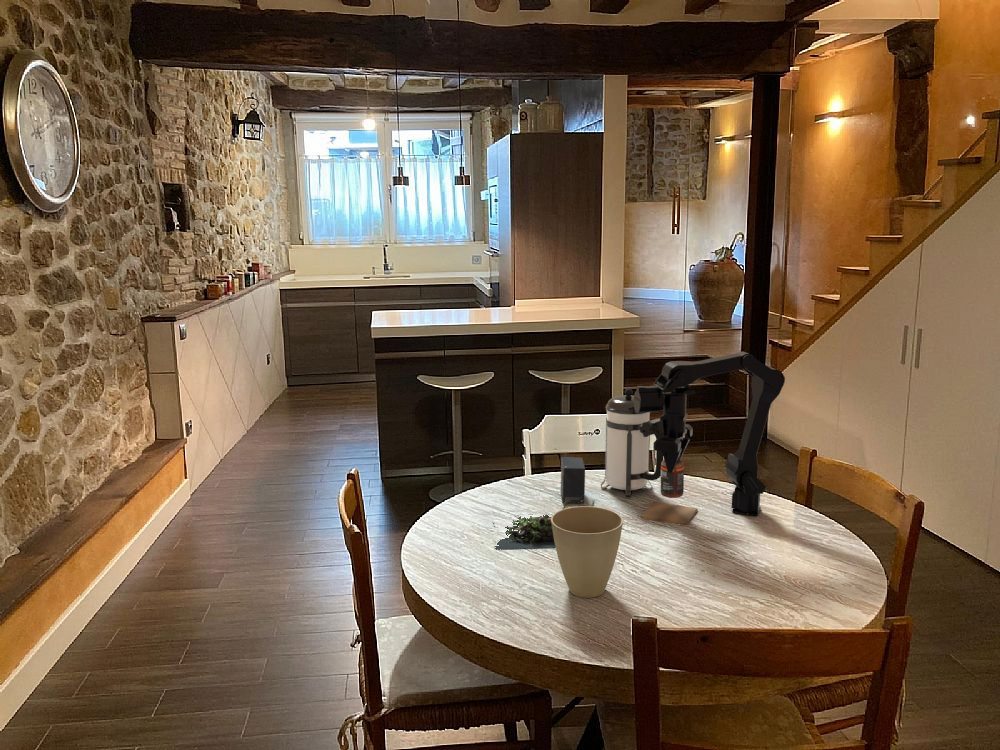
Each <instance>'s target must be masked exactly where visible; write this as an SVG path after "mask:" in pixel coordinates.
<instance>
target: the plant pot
mask: <svg viewBox="0 0 1000 750" xmlns="http://www.w3.org/2000/svg"><path fill="white" fill-rule="evenodd" d="M569 507H570V508H565V509H563V508H561V509H559V510H558V511H556V512H555V513H553V514H551V515H552V517H551V524H552V530H553V536H554V542H555V546H556V548H555V550H556V555H557V558H558V562H559V565H560V568H561V572H562V574H563V577H564V579H565V582H566V585H567V587H568V589H569V592H570V593H571V594H572V595H574V596H576V597H580V598H585V599H586V598H587V599H589V598H596V597H597V598H598V597H599V596H601V595H603V594H604V592H605V590H606V588H607V585H608V582H609V579H610V578H611V575H612V572H613V569H614V565H615V562H616V559H617V555H618V552H619V546H620V542H621V536H622V530H623V524H624V519H623V517H622V515H620V514H619V513H617V512H616V511H614V510H611V509H608V508H604V507H599V506H593V507H592V505H590V506H589V505H588V506H587V505H585V506H582V505H580V506H576V507H574V506H569Z"/></svg>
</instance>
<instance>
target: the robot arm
mask: <svg viewBox="0 0 1000 750" xmlns="http://www.w3.org/2000/svg"><path fill="white" fill-rule="evenodd" d="M740 370H743V371H744V372H745V373H746V374H748V375H750V376H751V385H750V386H751V392H752V393H751V394H752V400H751V404H750V407H749V410H748V414H747V418H746V422H745V425H744V429H743V432H742V437H741V439H740V442H739V443H740V444H739V446H738V449H737V450H736V451H735V452H734V453H731V452H730V453H728V455H727V462H726V463H725V465H724V468H725V474H726V475H727V477H728V478H729V479H730V480H731V483H732V485H733V486H735V488H734V490H733V492H732V493H731V509H732V511H731V513H734V514H741V515H745V516H746V515H747V516H751V517H752V516H753V517H758V516H759V513H760V512H761V511H760V510H761V506H760V503H761V495H763V494H764V492H765V490H766V487H767V486H766V485H765V484H764V483H763V482H762V481H761V480H760V479H759V478H758V475H759V474H758V473H759V464H758V462H759V461H758V456H757V455H758V451H759V448H760V444H761V442H762V438H763V434H764V430H765V428H766V427H765V426H766V424H767V420H768V417H769V413H770V408H771V406H772V404H773V402H774V401H775V400H776V398H778V396H779V395H780V394H781V392H782V389H783V387H784V386H785V382H786V376H785V374H784V373H783V372H782V371H781V370H779V369H776V368H774V367H772V366H768V365H766V364H765V363H763V362H762V361H760V360H758V359H757V358H756V357H754V356H753V354H752V353H748V352H745V351H739V352H736V353H732V354H727V355H721V356H718V357H713V358H707V359H702V360H696V361H690V360H689V361H687V360H685V361H684V360H675V361H674V360H673V361H672V360H671V361H669V362H666V363H665V364H664V365H663V367H662V370H661V373H660V374H659V376H658V377H657V378H656V379H655V381H654V383H653V384H652V386H651V385H650V386H645V385H637V386H636V391H635V392H634V395H633V396H634V397H633V404H634V409H635V411H636V413H646V412H650V413H659V412H660V411H661V410H662V411H663V412H662V413H663V414H661V416H660V417H659V418H655V419H652V420H651V419H650V421H647V422H643V423H642V425H640V428H641V430H640V432H641V433H643V436H644V437H648V436H649V435H650V436H652V435H654V434H657V433H659V435H660V437H659V438H658V439H657V440H656V439H655V441H653V451H655V452H656V451H660V452H661V453H662V454H663V456H664V457H663V460H665V463H666V467H667V471H668V472H669V473H672V472H673V469H674V467H675V465H676V462H677V460H678V457H679V455H680V460H681V459H682V457H683V454H684V452H685V450H686V448H687V446H688V444H689V442H690V439H691V437H692V436H693V435H694V434H693V431H694V430H693V427H692V426H691V424H688V423H686V422H687V421H686V419H687V418H688V413H687V395H695V393H696V392H695V391H694V390H693V389H692V388H691V386H690V385H692V384H693V383H695V382H696V381H698V380H700V379H702V378H706V377H707V378H708V377H710V376H715V375H719V374H725V373H730V372H735V371H740ZM686 435H687V436H688V437H685V436H686Z"/></svg>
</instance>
